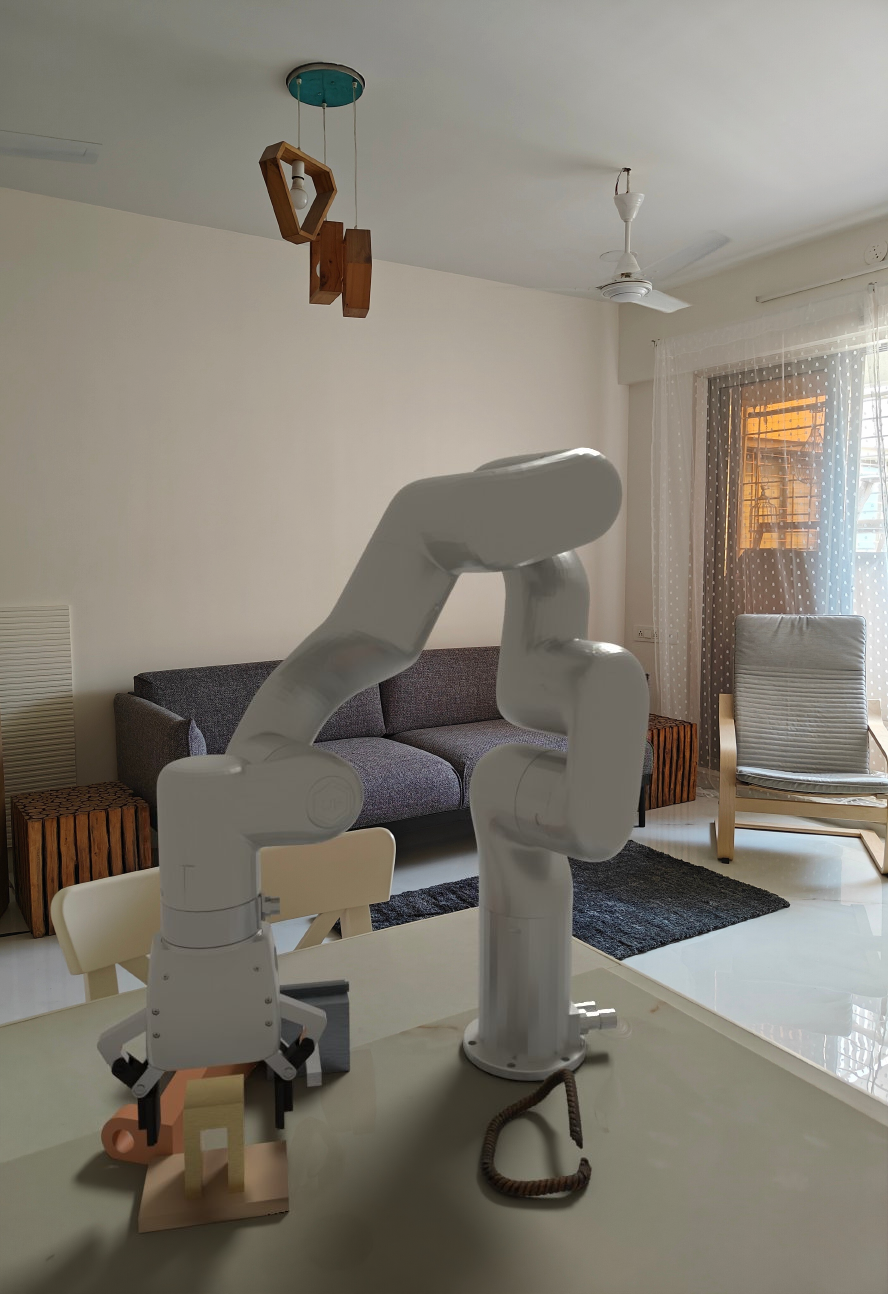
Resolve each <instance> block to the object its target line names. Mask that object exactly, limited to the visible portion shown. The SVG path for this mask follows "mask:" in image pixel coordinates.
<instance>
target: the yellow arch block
mask: <svg viewBox="0 0 888 1294" xmlns="http://www.w3.org/2000/svg"><path fill="white" fill-rule="evenodd" d="M245 1120H246V1119H245V1080H244V1074H240V1075H231V1076H222V1077H213V1078H204V1079H195V1080H187V1086H186V1093H185V1100H184V1107H183V1124H184V1164H185V1200H187V1199H194V1198H201V1197H202V1188H203V1177H204V1167H205V1152H204V1151H205V1130H207V1131H208V1130H213V1129H214V1130H215V1129H223V1128H226V1131H227V1132H226V1133H227V1137H226V1139H227V1143H226V1145H227V1148H228V1193H229V1194H231V1193H238V1192H244V1191H245V1145H246V1134H245V1133H246V1132H245V1131H246V1129H245V1128H246V1127H245V1124H246V1123H245Z"/></svg>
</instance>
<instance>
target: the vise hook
mask: <svg viewBox="0 0 888 1294" xmlns="http://www.w3.org/2000/svg"><path fill="white" fill-rule="evenodd" d="M348 992H350V981H349V980H348V981H346V980H345V979H334V980H323V981H315V982H304V983H303V982H301V983H293V984H292V983H291V984H281V985H280V994H283V995H285V996H288V997H290V998H293V999H296V1000H298V1001H301V1002H303V1003H306V1004H308V1005H311V1006H314V1007H316V1008H319V1009H321V1010H323V1011H325V1013H326V1019H327V1024H326V1027H325V1029H324V1031H323V1033H322V1035H321V1037H320V1039H319V1041H318V1042H317V1044H316V1046H315V1050H314V1052H313V1054H312V1055H311V1056H310V1057H309V1058H308V1059H307V1060H306V1061H305V1062H304V1063H303V1064H302V1065H301V1066H300V1068H299V1069H298V1070H297V1071H296V1075H295V1077H294V1078H297V1077H306V1084H307V1086H306V1087H317V1086H322V1075H324V1074H332V1073H333V1072H334V1073H341V1072H348V1071H349V1072H350V1071H351V1053H350V1052H351V1043H350V1041H351V1039H350V1037H351V1036H350V1033H351V1032H350V1026H351V1025H350V999H349V994H348ZM304 1027H305V1026H303V1025H300V1024H298V1023H295V1022H293V1021H290V1020H287V1019H285V1018H282V1017H281V1038H282V1039H283V1040H284V1041H285V1042H286V1043H287V1044H288V1045H289V1046H290V1045H291V1044H292V1043H293V1042H294V1041H295V1040H296V1038H297V1037H298V1036H299V1035H300V1034H301V1033H302V1032H303V1030H304ZM334 1073H333V1074H334ZM266 1080H267V1081H270V1080H274V1069H273V1068H272V1067H271V1066H269V1065H268V1064H267V1063H266Z"/></svg>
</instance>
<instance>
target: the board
mask: <svg viewBox="0 0 888 1294" xmlns="http://www.w3.org/2000/svg"><path fill="white" fill-rule="evenodd" d="M287 1149H288V1148H287V1140H279V1141H278V1140H277V1141H269V1142H268V1141H267V1142H261V1143H254V1144H245V1191H244V1192H238V1193H231V1194H229V1193H228V1147H223V1148H222V1147H221V1148H213V1149H206V1150H205V1149H204V1152H205V1167H204V1177H203V1188H202V1197H201V1198H194V1199H187V1200H185V1164H184V1153H181V1154H173V1155H165V1156H157V1157H150V1158H149V1164H147V1169H146V1175H145V1181H144V1185H143V1191H142V1197H141V1201H140V1208H139V1213H138V1217H137V1219H138V1234H141V1233H142V1234H143V1233H150V1232H157V1231H164V1230H170V1229H178V1228H185V1227H191V1226H192V1227H193V1226H199V1225H207V1224H213V1223H220V1222H226V1221H235V1220H241V1219H248V1218H255V1217H256V1218H257V1217H263V1216H268V1214H270V1215H276V1214H275V1213H277V1214H280V1213H279V1212H284V1213H286V1212H285V1211H289V1212H290V1195H289V1193H290V1192H289V1172H288V1153H287Z"/></svg>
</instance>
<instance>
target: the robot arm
mask: <svg viewBox="0 0 888 1294" xmlns="http://www.w3.org/2000/svg"><path fill="white" fill-rule="evenodd" d="M622 503H623V484H622V481H621V477H620V475H619V472H618V470H617V468H616V467H615V465H614V464H613V462H612V461H610V460H609V458H607V456H605V455H603V454H602V453H601V452H599V451H597V450H594V449H591V448H588V447H574V448H565V449H564V448H563V449H558V450H557V449H556V450H551V451H545V452H544V451H543V452H537V453H529V454H519V455H514V456H507V457H502V458H498V459H494V460H491V461H489V462H486V463H484V464H482V465H480V466H479V467H477V468H476V469H474V470H473V471H469V472H461V473H454V474H445V475H438V476H431V477H425V478H421V479H416V480H414V481H412V482H410V483H408V484H406V485H404V486H403V487H402V488H401V489H399V490H398V491H397V493H396V494H395V495H394V496H393V498H392V499H391V500H390V502H389V504H388V505H387V507H386V509H385V511H384V513H383V515H382V516H381V518H380V520H379V522H378V523H377V526H376V528H375V530H374V531H373V533H372V535H371V537H370V538H369V541H368V543H367V545H366V547H365V548H364V551H363V552H362V553H361V557H360V558H359V560H358V562H357V563H356V566H355V567H354V569H353V571H352V573H351V575H350V577H349V579H348V580H347V583H346V584H345V586H344V588H343V590H342V592H341V594H340V596H339V597H338V598H337V601H336V603H335V604H334V606H333V607H332V610H331V611H330V613H329V615H328V616H327V617H326V619H325V620H324V621H322V623H321V624H319V625H318V627H317V628H316V629H314V630H313V631H312V632H310V633H309V635H308V636H306V638H304V639H303V640H302V642H300V644H298V646H296V648H294V650H293V651H291V652H290V653H289V655H288V656H287V657H285V658H284V659H283V660H282V661H281V662H280V664H278V665H277V667H275V669H274V670H273V671H272V672H271V673H270V674H269V676H267V678H266V679H265V680H264V681H263V683H262V684H261V686H260V687H259V689H258V690H257V691H256V693H255V694H254V696H253V698H252V699H251V701H250V703H249V705H248V707H247V708H246V710H245V712H244V714H243V716H242V718H241V719H240V721H239V723H238V725H237V728H236V729H235V731H234V733H233V735H232V737H231V739H230V741H229V743H228V745H227V747H226V750H225V753H224V754H202V755H193V756H187V757H183V758H180V759H177V760H173V761H171V762H169V763H167V765H165V766H163V768H162V770H160V772H159V774H158V776H157V782H156V805H157V808H156V811H157V835H158V836H157V837H158V838H157V839H158V842H157V843H158V866H159V867H158V868H159V871H158V872H159V895H160V897H159V898H160V927H161V928H160V929H159V930H157V931H156V932H155V933H154V934H153V937H152V941H151V946H150V954H149V961H148V962H149V963H148V973H147V985H146V1003H145V1006H146V1007H144V1008H143V1009H141V1010H139V1011H137V1012H136V1013H134V1014H132V1015H131V1016H128V1017H127V1018H126V1019H124V1020H121V1021H120V1022H119V1023H117V1024H115V1025H113V1026H112V1027H110V1028H108V1029H107V1030H104V1031H103V1032H102V1033H100V1035H99V1037H98V1040H97V1044H96V1048H97V1051H98V1052H99V1054H100V1055H101V1057H102V1058H103V1060H104V1061H105V1063H106V1064H107V1065H108V1066H109V1068H110V1071H111V1074H112V1076H114V1077H115V1078H116V1079H118V1080H119V1081H120V1082H122V1083H123V1084H124V1085H126V1086H127V1087H128V1088H129V1089H130V1090H131V1094H132V1096H134V1097H135V1098H137V1104H136V1105H138V1129H139V1130H147V1147H149V1146H155V1144H157V1142H158V1136H159V1131H160V1125H161V1104H160V1097H161V1082H160V1081H161V1080H160V1079H161V1077H162V1076H163V1074H164V1073H165V1072H174V1071H175V1072H177V1071H178V1070H188V1069H197V1068H207V1067H215V1066H224V1065H233V1064H241V1063H249V1062H256V1061H260V1062H261V1061H264V1062H265V1063H266V1065H267V1064H268V1065H269V1066H271V1067H272V1068H273V1069H274V1079H273V1080H274V1081H273V1082H274V1083H273V1084H274V1086H273V1087H274V1089H273V1090H274V1092H273V1093H274V1122H275V1123H274V1126H275V1129H277V1131H281V1130H285V1113H289V1112H294V1095H293V1093H294V1091H293V1090H294V1089H293V1087H294V1086H293V1079H294V1078H296V1077H295V1075H296V1071H297V1070H298V1069H299V1068H300V1066H301V1065H302V1064H303V1063H304V1062H305V1061H306V1060H307V1059H308V1058H309V1057H310V1056H311V1055H312V1054H313V1052H314V1050H315V1046H316V1044H317V1042H318V1041H319V1039H320V1037H321V1035H322V1033H323V1031H324V1029H325V1027H326V1024H327V1019H326V1013H325V1011H323V1010H321V1009H319V1008H316V1007H314V1006H311V1005H308V1004H306V1003H303V1002H301V1001H298V1000H296V999H293V998H290V997H288V996H285V995H283V994H280V973H279V962H278V952H277V947H276V942H275V936H274V933H273V929H272V925H271V923H270V922H269V921H267V920H266V918H271V916H274V915H275V916H276V915H281V903H280V901H281V900H280V899H281V897H280V896H275V897H274V896H273V897H271V895H266V893H265V892H262V891H261V889H262V884H261V883H262V882H261V881H262V878H261V874H262V873H261V871H262V870H261V849H262V848H266V847H267V848H268V847H286V846H287V847H288V846H309V845H317V844H318V845H319V844H322V843H325V842H329V841H332V840H333V839H336V838H338V837H340V836H341V835H343V834H344V833H345V832H347V831H348V830H349V829H350V828H351V827H352V826H353V825H354V824H355V822H356V821H357V820H358V817H359V816H360V815H361V813H362V812H361V811H362V809H363V804H364V801H365V793H364V792H365V791H364V785H363V782H362V779H361V777H360V774H359V773H358V771H357V770H356V769H355V768H354V765H352V764H351V763H350V762H349V761H347V760H346V759H345V758H343V757H341V756H340V755H339V754H336V753H334V752H332V751H329V750H326V749H323V748H320V747H317V746H314V745H313V743H314V742H315V741H316V738H317V737H318V734H319V733H320V731H321V730H322V728H323V727H324V726H325V724H326V723H327V721H328V720H329V719H330V718H331V717H332V716H333V714H334V713H335V712H336V711H337V710H339V708H340V707H342V705H343V704H345V703H346V702H347V701H349V700H350V699H351V698H353V697H355V695H357V694H359V693H361V692H363V691H365V690H366V689H368V688H370V687H373V686H375V685H377V684H380V683H381V682H384V681H386V680H388V679H391V678H393V677H394V676H397V675H398V674H400V673H402V672H404V671H405V670H407V669H408V668H410V667H412V666H413V665H414V664H415V663H416V662H417V661H418V659H419V658H420V657H421V655H422V652H423V651H424V649H425V646H426V644H427V641H428V640H429V637H430V635H431V634H432V632H433V630H434V627H435V625H436V623H437V622H438V620H439V618H440V615H441V613H442V612H443V609H444V607H445V605H446V604H447V601H448V599H449V597H450V595H451V593H452V591H453V590H454V588H455V586H456V584H457V581H458V579H459V578H460V576H461V575H462V574H466V573H468V574H469V573H471V574H472V573H483V574H484V573H485V574H486V573H487V574H488V573H502V576H503V577H502V578H503V581H504V591H505V592H504V593H505V597H504V598H505V599H504V610H503V611H504V613H503V614H504V615H503V623H502V631H501V640H500V647H499V656H498V663H497V664H498V666H497V673H496V685H495V697H496V706H497V709H498V710H499V711H498V712H499V713H500V715H501V716H502V717H503V718H504V719H505V720H506V721H507V722H509V724H512V725H513V726H515V727H518V728H521V729H524V730H527V731H532V732H536V733H537V732H538V733H542V734H545V735H546V734H547V735H552V736H556V737H561V738H566V739H567V747H566V748H567V749H566V751H564V750H561V749H556V748H552V747H546V746H542V745H538V744H533V743H527V742H507V743H503V744H502V743H501V744H499V745H497V746H495V747H492V748H491V749H489V750H488V751H487V752H485V753H483V755H482V756H481V757H480V758H479V760H478V761H477V763H476V765H475V766H474V768H473V771H472V773H471V776H470V781H469V790H468V792H469V793H468V794H469V795H468V797H469V808H470V813H471V819H472V824H473V829H474V833H475V834H474V835H475V839H476V849H477V850H476V851H477V861H478V948H477V949H478V951H477V952H478V958H477V959H478V973H477V974H478V975H477V976H478V978H477V979H478V980H477V981H478V986H477V987H478V991H477V993H478V994H477V995H478V996H477V997H478V999H477V1000H478V1001H477V1003H478V1004H477V1009H478V1010H477V1017H476V1018H475V1019H473V1020H472V1021H471V1022H470V1023H469V1024H468V1025H467V1026H466V1028H465V1029H464V1031H463V1036H462V1043H463V1044H462V1048H463V1051H464V1053H465V1055H466V1057H467V1058H468V1060H469V1061H470V1062H471V1063H472V1064H474V1065H475V1066H476V1067H478V1068H479V1069H481V1070H483V1071H484V1072H487V1073H489V1074H491V1075H494V1076H496V1077H500V1078H504V1079H508V1080H516V1081H529V1082H532V1081H536V1082H537V1081H545V1079H546V1078H548V1077H549V1075H551V1074H553V1073H554V1072H556V1071H558V1070H559V1069H563V1068H568V1069H570V1070H571V1071H572V1072H573V1071H574V1070H576V1069H577V1068H578V1067H579V1066H580V1065H581V1064H582V1063H583V1061H584V1060H585V1058H586V1055H587V1039H586V1036H585V1035H588V1034H589V1031H593V1030H595V1031H596V1030H598V1031H600V1030H611V1029H612V1030H613V1029H616V1028H617V1026H618V1017H617V1013H616V1011H615V1009H614V1008H603V1009H597V1006H596V1003H595V1001H594V1000H591V1001H590V1000H589V1001H582V1002H576V1003H574V1001H573V1000H572V978H573V977H572V975H573V974H572V971H573V968H572V967H573V964H572V963H573V961H572V960H573V904H574V888H573V887H574V885H573V874H572V870H571V866H570V862H569V859H568V857H569V858H572V859H576V860H579V861H583V862H589V863H601V862H605V861H608V860H610V859H612V858H614V857H615V856H617V855H618V854H619V853H620V852H621V851H622V850H623V848H624V847H625V846H626V844H627V843H628V841H629V839H630V838H631V836H632V833H633V831H634V830H633V829H634V826H635V823H636V819H637V815H638V810H639V809H638V808H639V803H640V796H641V790H642V789H641V788H642V778H643V771H644V761H645V754H646V746H647V745H646V744H647V735H648V728H649V727H648V726H649V720H650V719H649V717H650V716H649V715H650V705H651V703H650V701H651V700H650V697H651V696H650V689H649V684H648V679H647V676H646V673H645V670H644V668H643V665H642V664H641V662H640V661H639V659H638V658H637V656H635V655H634V654H633V653H632V652H631V651H629V649H626V648H625V647H623V646H621V645H618V644H615V643H610V642H605V641H595V640H589V639H588V635H589V618H590V605H591V604H590V601H591V591H590V583H589V578H588V575H587V572H586V569H585V566H584V565H583V563H582V561H581V559H580V557H579V554H578V553H577V551H576V550H575V549H577V548H580V547H583V546H585V545H588V544H591V543H592V542H595V541H597V540H599V539H600V538H601V537H603V536H604V535H605V534H606V533H607V532H608V531H610V529H611V528H612V526H613V525H614V523H615V522H616V520H617V519H618V516H619V514H620V511H621V508H622ZM281 1017H282V1018H285V1019H287V1020H290V1021H293V1022H295V1023H298V1024H300V1025H303V1026H305V1027H304V1030H303V1032H302V1033H301V1034H300V1035H299V1036H298V1037H297V1038H296V1040H295V1041H294V1042H293V1043H292V1044H291V1045H290V1046H289V1045H288V1044H287V1043H286V1042H285V1041H284V1040H283V1039H282V1038H281ZM143 1033H145V1054H146V1055H145V1057H144V1059H143V1060H142V1061H140V1060H139V1059H138V1058H136V1057H135V1056H133V1055H132V1054H131V1053H130V1052H128V1051H126V1050H125V1046H124V1044H126V1043H128V1042H130V1041H132V1040H133V1039H135V1038H137V1037H138V1036H140V1035H142V1034H143Z"/></svg>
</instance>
